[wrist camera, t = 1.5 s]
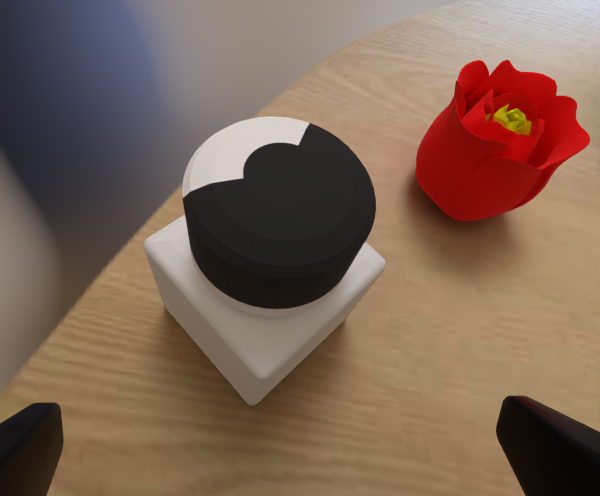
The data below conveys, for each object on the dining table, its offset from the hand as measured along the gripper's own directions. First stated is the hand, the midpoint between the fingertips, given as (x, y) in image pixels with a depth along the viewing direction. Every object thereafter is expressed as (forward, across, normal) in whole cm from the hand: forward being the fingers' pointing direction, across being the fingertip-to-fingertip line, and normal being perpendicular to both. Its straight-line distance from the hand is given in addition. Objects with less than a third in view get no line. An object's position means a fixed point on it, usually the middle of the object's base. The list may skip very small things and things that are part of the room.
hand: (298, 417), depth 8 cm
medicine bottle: (+14, 0, +4) cm, 15 cm away
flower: (+20, -14, -2) cm, 25 cm away
